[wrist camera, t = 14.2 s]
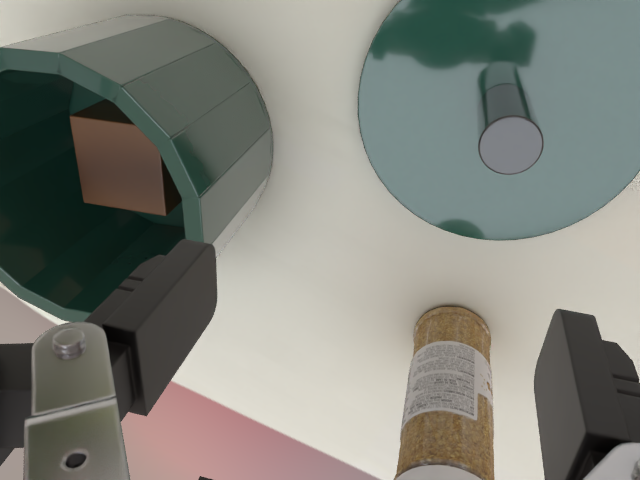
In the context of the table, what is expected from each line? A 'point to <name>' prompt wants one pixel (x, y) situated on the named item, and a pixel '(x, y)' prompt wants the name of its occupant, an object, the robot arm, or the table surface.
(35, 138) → the pot
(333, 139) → the table surface
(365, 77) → the lid
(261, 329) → the table surface
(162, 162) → the block
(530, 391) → the table surface
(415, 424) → the sprinkles bottle
